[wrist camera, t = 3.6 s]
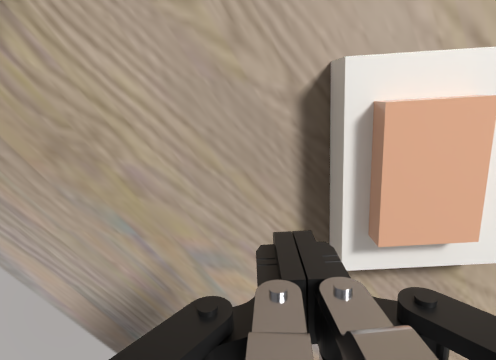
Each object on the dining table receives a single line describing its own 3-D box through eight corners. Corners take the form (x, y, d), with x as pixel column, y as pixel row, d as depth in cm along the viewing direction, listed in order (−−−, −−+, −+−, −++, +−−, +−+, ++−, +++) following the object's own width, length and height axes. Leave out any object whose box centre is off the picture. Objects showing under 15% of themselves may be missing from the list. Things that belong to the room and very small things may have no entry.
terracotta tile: (373, 101, 22) (385, 102, 20) (477, 94, 22) (499, 95, 20) (368, 234, 25) (378, 247, 23) (460, 230, 25) (478, 241, 23)
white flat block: (330, 61, 25) (345, 56, 21) (512, 49, 25) (560, 42, 21) (329, 247, 30) (341, 271, 26) (485, 239, 29) (520, 261, 25)
